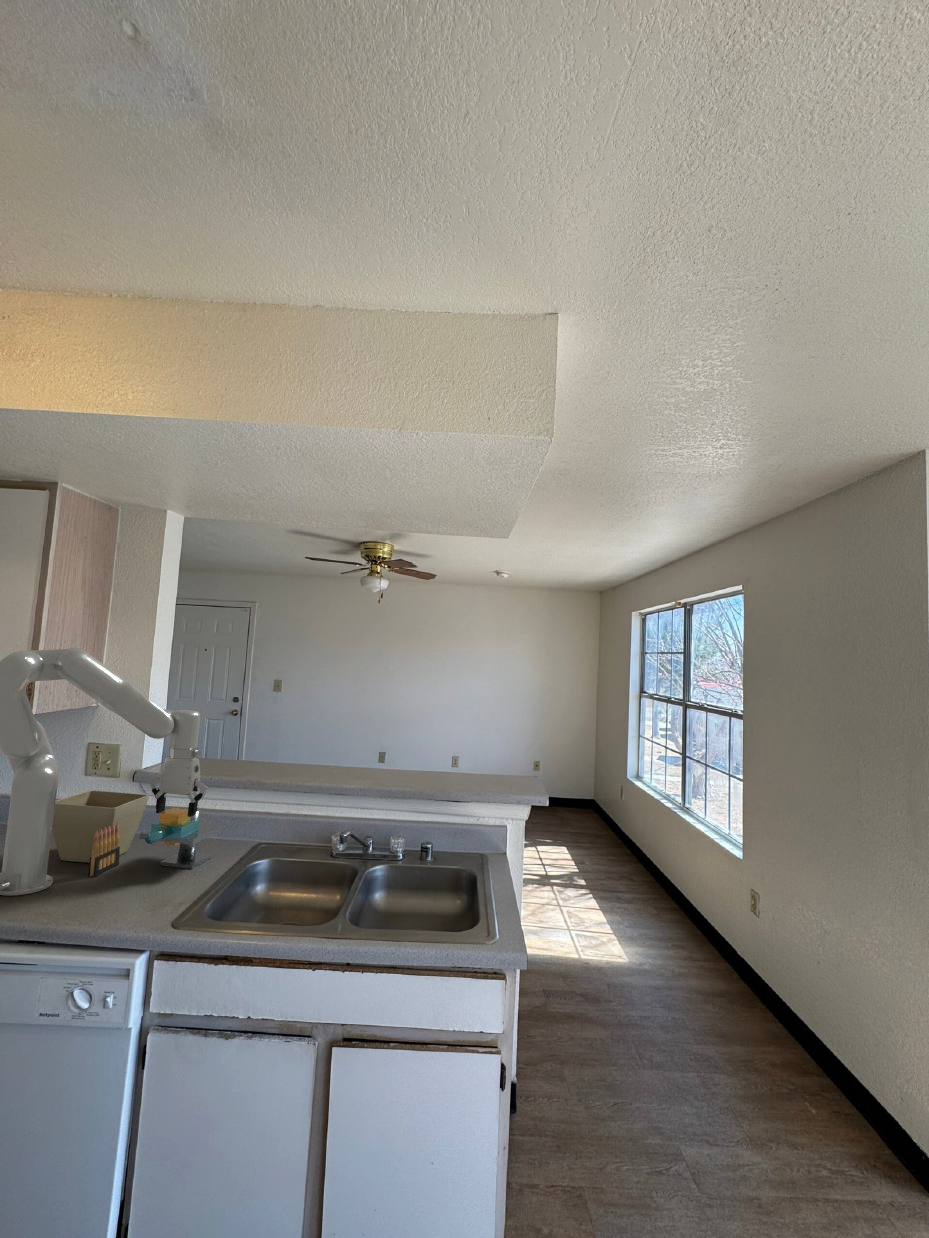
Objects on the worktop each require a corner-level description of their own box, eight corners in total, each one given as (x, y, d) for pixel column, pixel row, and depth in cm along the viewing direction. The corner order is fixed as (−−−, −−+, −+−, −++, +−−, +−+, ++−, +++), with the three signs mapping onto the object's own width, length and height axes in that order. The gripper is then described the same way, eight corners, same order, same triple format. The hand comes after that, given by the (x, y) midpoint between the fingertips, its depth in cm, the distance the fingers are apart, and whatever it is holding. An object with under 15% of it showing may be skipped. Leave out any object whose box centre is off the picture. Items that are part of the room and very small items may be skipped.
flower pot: (84, 843, 189) (90, 789, 191) (144, 848, 189) (150, 793, 190) (40, 863, 171) (48, 802, 172) (106, 869, 170) (113, 808, 171)
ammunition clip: (94, 877, 164) (97, 831, 165) (87, 876, 164) (91, 831, 165) (119, 864, 174) (122, 821, 175) (112, 863, 175) (116, 821, 175)
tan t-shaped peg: (170, 839, 177) (173, 807, 178) (188, 841, 176) (191, 809, 177) (156, 845, 170) (160, 813, 171) (175, 847, 170) (178, 815, 171)
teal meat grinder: (172, 852, 188) (178, 803, 189) (221, 858, 186) (226, 808, 187) (117, 880, 163) (123, 823, 164) (172, 887, 161) (179, 829, 162)
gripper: (217, 754, 178) (211, 814, 177) (162, 749, 180) (156, 807, 179) (203, 758, 170) (196, 820, 169) (146, 752, 173) (139, 813, 171)
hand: (175, 813), depth 174 cm, fingers open, 9 cm apart
